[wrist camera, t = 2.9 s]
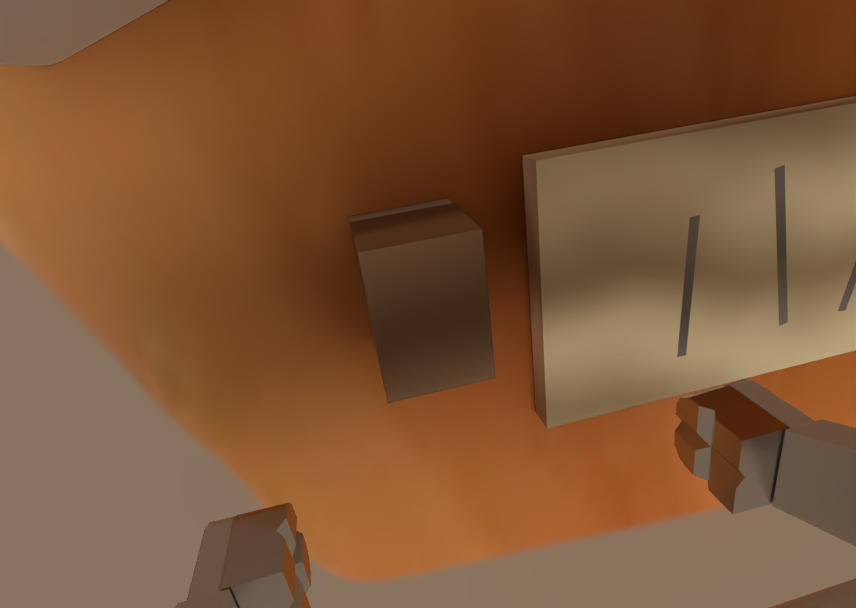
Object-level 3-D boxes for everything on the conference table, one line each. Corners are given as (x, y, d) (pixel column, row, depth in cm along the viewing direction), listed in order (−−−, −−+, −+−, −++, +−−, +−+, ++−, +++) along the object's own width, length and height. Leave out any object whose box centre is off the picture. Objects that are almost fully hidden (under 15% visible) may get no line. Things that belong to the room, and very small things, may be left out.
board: (522, 155, 18) (536, 160, 16) (1000, 69, 20) (1039, 69, 19) (535, 411, 22) (547, 428, 21) (922, 315, 25) (949, 326, 24)
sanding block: (348, 215, 17) (357, 252, 14) (448, 197, 18) (482, 228, 14) (374, 342, 19) (388, 402, 16) (462, 323, 20) (495, 377, 16)
